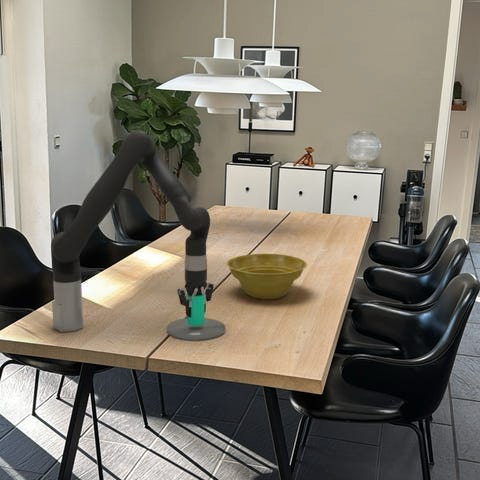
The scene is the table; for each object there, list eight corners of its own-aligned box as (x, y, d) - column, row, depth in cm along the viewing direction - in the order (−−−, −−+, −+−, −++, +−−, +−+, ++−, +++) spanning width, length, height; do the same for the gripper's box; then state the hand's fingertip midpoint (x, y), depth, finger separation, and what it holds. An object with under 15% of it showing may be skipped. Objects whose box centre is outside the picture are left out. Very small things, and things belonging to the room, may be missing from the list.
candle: (195, 318, 234) (195, 285, 232) (208, 322, 231) (208, 289, 228) (183, 323, 230) (183, 289, 227) (196, 327, 226) (196, 293, 223)
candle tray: (189, 345, 217) (189, 341, 217) (155, 328, 232) (155, 325, 232) (237, 332, 229) (237, 328, 229) (202, 317, 244) (202, 313, 244)
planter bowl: (245, 311, 252) (246, 276, 249) (214, 288, 281) (214, 257, 278) (320, 301, 265) (321, 268, 262) (283, 280, 293) (283, 250, 290)
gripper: (184, 272, 219) (184, 322, 222) (219, 266, 228) (219, 314, 231) (171, 268, 224) (172, 316, 228) (206, 261, 233) (206, 308, 237)
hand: (195, 315), depth 230 cm, fingers closed on candle, 4 cm apart
